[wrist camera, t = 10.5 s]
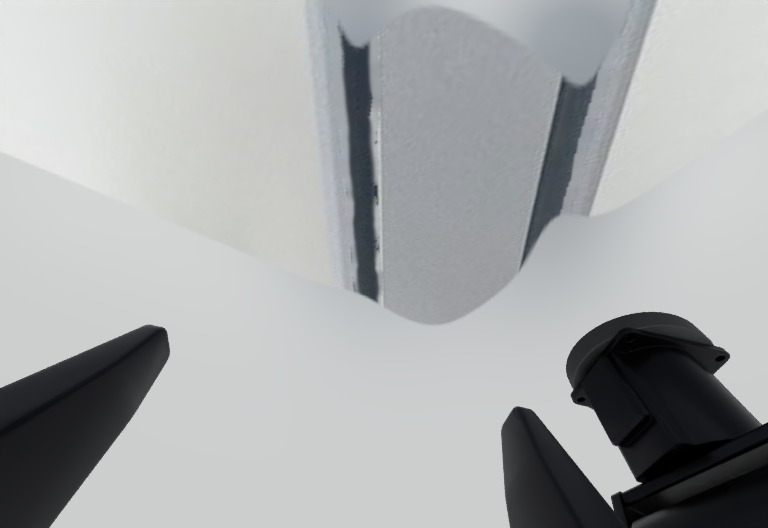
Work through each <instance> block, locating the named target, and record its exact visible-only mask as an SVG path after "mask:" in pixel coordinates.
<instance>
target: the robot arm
mask: <svg viewBox="0 0 768 528" xmlns="http://www.w3.org/2000/svg"><path fill="white" fill-rule="evenodd" d="M627 336H628V337H627ZM169 354H170V348H169V342H168V335H167V331H166V330H165V328H163V327H158V326H153V325H145V326H143V327H141V328H138V329H136V330H133V331H131V332H129V333H126V334H124V335H122V336H119V337H117V338H115V339H113V340H110V341H108V342H106V343H103V344H101V345H99V346H96V347H94V348H92V349H90V350H87V351H85V352H83V353H80V354H78V355H76V356H74V357H71V358H69V359H67V360H64V361H62V362H59V363H57V364H55V365H53V366H50V367H48V368H46V369H43V370H41V371H39V372H37V373H34V374H32V375H30V376H27V377H25V378H23V379H20V380H18V381H16V382H14V383H11V384H9V385H6V386H4V387H2V388H0V528H49V527H50V526H51V525H52V523H53V522H54V521H55V519H56V518H57V516H58V515H59V514H60V513H61V511H62V510H63V509H64V507H65V506H66V505H67V503H68V502H69V501H70V499H71V498H72V496H73V495H74V494H75V493H76V491H77V490H78V489H79V487H80V486H81V485H82V484H83V482H84V481H85V479H86V478H87V477H88V476H89V474H90V473H91V472H92V470H93V469H94V467H95V466H96V465H97V464H98V462H99V461H100V460H101V458H102V457H103V456H104V454H105V453H106V452H107V450H108V449H109V448H110V446H111V445H112V444H113V442H114V441H115V440H116V438H117V437H118V436H119V435H120V433H121V432H122V431H123V429H124V428H125V427H126V425H127V424H128V422H129V421H130V420H131V418H132V417H133V415H134V414H135V412H136V410H137V409H138V408H139V406H140V404H141V403H142V401H143V399H144V398H145V396H146V395H147V393H148V391H149V390H150V388H151V386H152V385H153V383H154V381H155V380H156V378H157V377H158V375H159V373H160V372H161V370H162V368H163V367H164V365H165V364H166V362H167V360H168V358H169ZM729 358H730V355H729V353H727V352H726V351H725V350H724V349H723V348H720V347H716V346H712V345H707V344H703V343H698V342H694V341H689V340H685V339H680V338H676V337H671V336H667V335H662V334H658V333H653V332H648V331H644V330H639V329H635V328H630V327H626V328H623V329H621V330H619V331H618V332H617V333H616V335H615V336H614V337H613V339H612V340H611V341H610V343H609V344H608V345H607V347H606V348H605V349H604V351H603V352H602V353H601V355H600V356H599V357H598V359H597V360H596V361H595V363H594V364H593V365H592V367H591V368H590V369H589V371H588V372H587V373H586V374H585V376H584V377H583V378H582V380H581V381H580V382H579V384H578V385H577V386H576V388H575V389H574V390H573V392H572V393H571V398H572V400H573V402H574V403H575V404H578V405H583V406H588V407H592V408H593V409H594V411H595V412H596V414H597V416H598V418H599V420H600V422H601V424H602V426H603V427H604V429H605V431H606V433H607V435H608V437H609V439H610V441H611V443H612V444H613V445H615V446H618V447H619V449H620V451H621V453H622V455H623V456H624V458H625V460H626V462H627V464H628V466H629V468H630V470H631V471H632V473H633V475H634V477H635V479H636V481H638V482H641V483H642V484H640V485H637V486H636V487H633V488H631V489H629V490H627V491H626V492H623V493H622V492H618V493H616V494H614V495H612V496H611V499H612V504H613V508H614V511H613V510H612V508H611V507H610V506H609V505H608V503H607V502H606V501H605V500H604V498H603V497H602V496H601V495H600V493H599V492H598V491H597V490H596V488H595V487H594V486H593V485H592V483H590V481H589V480H588V478H587V477H586V476H585V475H584V473H583V472H582V471H581V470H580V468H579V467H578V466H577V465H576V463H575V462H574V461H573V460H572V459H571V457H570V456H569V455H568V454H567V452H566V451H565V450H564V449H563V447H562V446H561V445H560V444H559V442H558V441H557V440H556V439H555V437H554V436H553V435H552V434H551V432H550V431H549V430H548V429H547V428H546V426H545V425H544V424H543V422H542V421H541V420H540V419H539V417H538V416H537V415H536V414H535V413H534V412H533V411H532V410H531V409H527V408H523V407H515V408H513V410H512V411H511V413H510V414H509V416H508V418H507V419H506V421H505V422H504V424H503V426H502V430H501V437H502V452H503V453H502V454H503V470H504V485H505V497H506V504H507V511H508V517H509V523H510V528H768V423H766V424H764V425H762V424H761V423H759V421H758V420H757V419H756V418H755V417H754V416H753V415H752V414H751V413H750V412H749V411H748V410H747V409H746V408H745V407H744V406H743V405H742V404H741V403H740V402H739V401H738V400H737V399H736V398H735V397H734V396H733V395H732V394H731V393H730V392H729V391H728V390H727V389H726V388H725V387H724V386H723V384H722V383H721V382H719V380H718V379H716V377H715V376H714V375H713V374H714V373H715V372H716V371H717V370H718V369H719V368H720V367H721V366H723V365H724V364H725V363H726V362H727V361H728V359H729Z"/></svg>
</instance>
